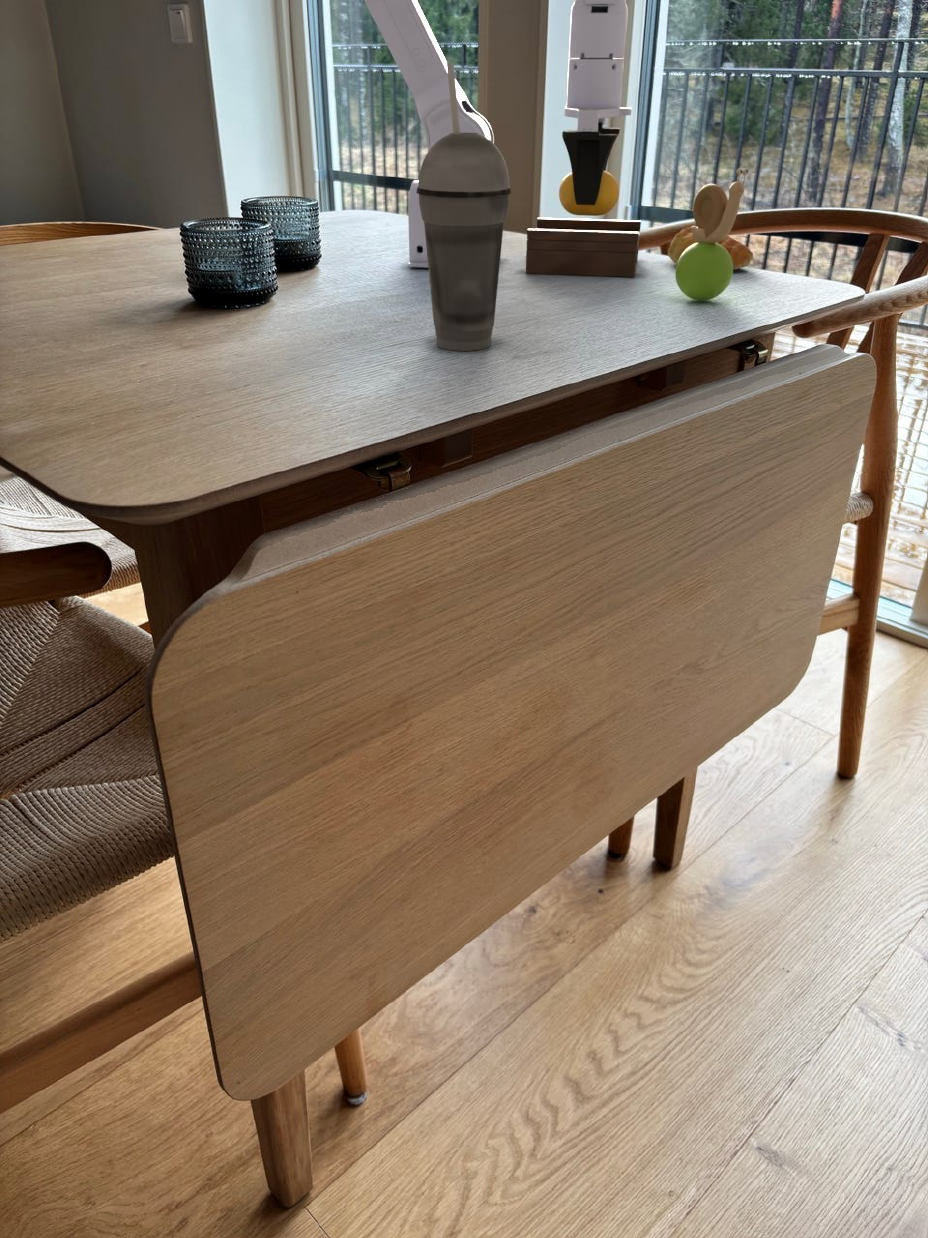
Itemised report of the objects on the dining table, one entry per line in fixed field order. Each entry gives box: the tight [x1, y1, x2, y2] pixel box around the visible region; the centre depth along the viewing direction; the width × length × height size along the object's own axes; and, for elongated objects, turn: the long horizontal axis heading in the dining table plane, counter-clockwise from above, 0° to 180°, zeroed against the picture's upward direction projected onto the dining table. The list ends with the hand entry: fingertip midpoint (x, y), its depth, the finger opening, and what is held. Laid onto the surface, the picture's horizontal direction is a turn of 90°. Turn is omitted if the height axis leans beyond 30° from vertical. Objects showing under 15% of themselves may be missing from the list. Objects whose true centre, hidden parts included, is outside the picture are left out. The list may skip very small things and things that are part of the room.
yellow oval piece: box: [558, 170, 620, 217], centre depth 104 cm, size 7×5×5 cm
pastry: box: [667, 226, 754, 270], centre depth 108 cm, size 9×7×4 cm
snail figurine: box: [674, 167, 749, 302], centre depth 89 cm, size 5×6×12 cm
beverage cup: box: [416, 61, 512, 352], centre depth 73 cm, size 7×7×20 cm
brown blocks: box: [525, 217, 642, 278], centre depth 107 cm, size 12×10×4 cm
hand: (587, 201), depth 105 cm, fingers closed on yellow oval piece, 4 cm apart
